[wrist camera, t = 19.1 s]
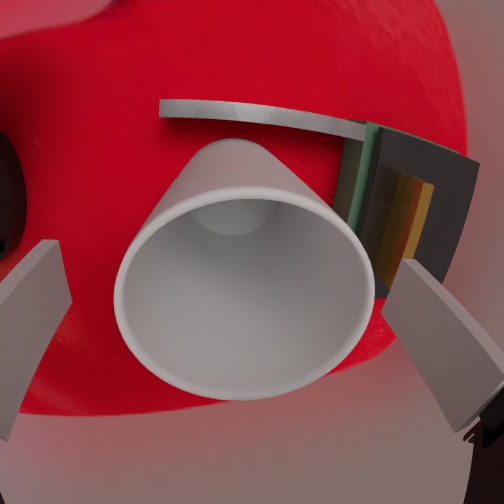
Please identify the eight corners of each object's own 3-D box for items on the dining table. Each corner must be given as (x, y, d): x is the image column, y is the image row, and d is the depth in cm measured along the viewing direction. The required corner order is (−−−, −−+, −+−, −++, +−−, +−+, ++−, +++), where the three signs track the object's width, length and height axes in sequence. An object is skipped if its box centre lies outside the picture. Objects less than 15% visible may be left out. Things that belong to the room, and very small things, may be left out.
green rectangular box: (317, 270, 27) (329, 291, 24) (347, 119, 21) (367, 121, 18) (401, 273, 28) (417, 291, 25) (436, 146, 22) (459, 153, 19)
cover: (339, 293, 23) (355, 321, 20) (378, 126, 17) (408, 132, 14) (432, 292, 25) (452, 314, 21) (474, 161, 19) (503, 172, 15)
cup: (273, 128, 21) (373, 161, 6) (291, 223, 24) (369, 371, 10) (169, 153, 21) (67, 236, 7) (197, 245, 25) (173, 411, 10)
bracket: (165, 259, 25) (158, 280, 22) (170, 101, 19) (160, 99, 16) (318, 267, 27) (330, 289, 23) (347, 122, 21) (367, 125, 18)
